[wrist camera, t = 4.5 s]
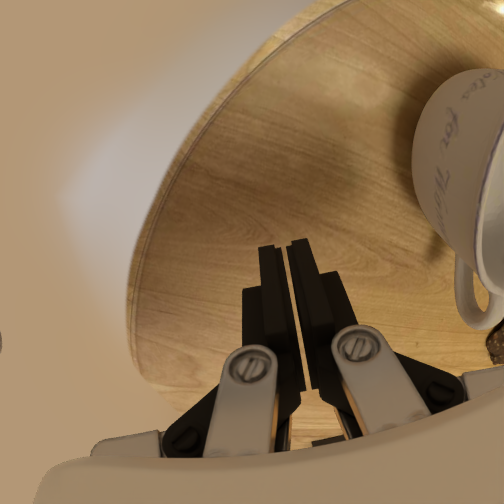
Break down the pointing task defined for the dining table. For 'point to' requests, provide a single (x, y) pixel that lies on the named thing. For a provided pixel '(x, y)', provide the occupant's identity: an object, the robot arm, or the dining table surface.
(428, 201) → the teacup
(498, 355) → the bread roll
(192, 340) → the dining table surface
